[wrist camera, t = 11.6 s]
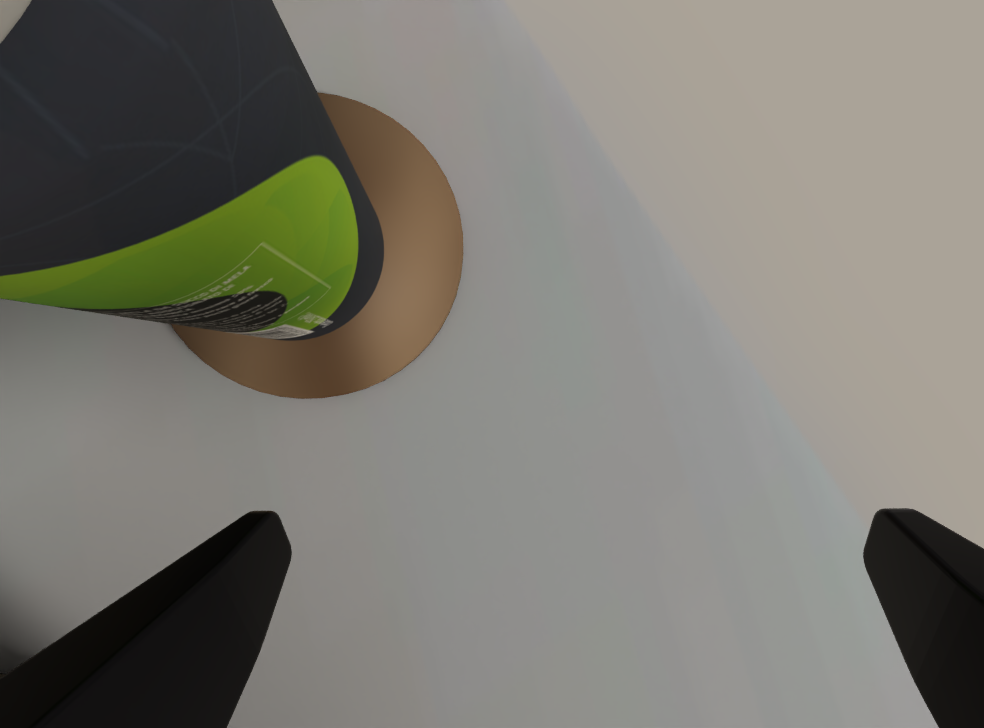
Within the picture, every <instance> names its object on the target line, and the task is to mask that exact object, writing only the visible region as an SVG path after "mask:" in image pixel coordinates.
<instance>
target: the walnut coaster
mask: <svg viewBox="0 0 984 728" xmlns="http://www.w3.org/2000/svg"><path fill="white" fill-rule="evenodd" d="M318 95H319V97H320V99H321V101H322V103H323V106H324V108H325V110H326V112H327V114H328V116H329V118H330V120H331V122H332V124H333V126H334V128H335V130H336V132H337V134H338V136H339V138H340V140H341V142H342V144H343V146H344V148H345V150H346V152H347V155H348V157H349V159H350V161H351V163H352V165H353V167H354V169H355V171H356V173H357V175H358V177H359V179H360V181H361V183H362V185H363V187H364V189H365V191H366V193H367V195H368V197H369V199H370V201H371V204H372V206H373V208H374V210H375V212H376V214H377V216H378V219H379V222H380V225H381V229H382V234H383V240H384V261H383V268H382V272H381V276H380V279H379V282H378V284H377V286H376V289H375V291H374V293H373V294H372V296H371V298H370V299H369V301H368V302H367V304H366V305H365V306H364V307H363V309H362V310H361V311H360V312H359V313H358V314H357V315H356V316H355V317H354V318H352V319H351V320H350V321H349V322H347V323H346V324H345V325H343V326H341V327H340V328H338V329H336V330H334V331H332V332H330V333H328V334H325V335H323V336H319V337H316V338H312V339H306V340H297V341H284V340H275V339H268V338H262V337H255V336H248V335H242V334H235V333H228V332H222V331H215V330H208V329H202V328H195V327H188V326H181V325H175V324H171V325H172V327H173V329H174V330H175V332H176V333H177V334H178V335H179V337H180V338H181V339H182V340H183V341H184V343H185V344H186V345H187V346H188V347H189V349H190V350H192V351H193V352H194V353H195V354H196V355H197V356H198V357H199V358H200V359H201V360H202V361H204V362H205V363H206V364H207V365H209V366H210V367H212V368H213V369H215V370H216V371H217V372H219V373H220V374H222V375H223V376H225V377H227V378H229V379H231V380H233V381H235V382H237V383H239V384H241V385H243V386H246V387H249V388H251V389H254V390H257V391H259V392H263V393H268V394H272V395H276V396H281V397H291V398H301V399H304V398H325V397H332V396H338V395H344V394H349V393H352V392H356V391H359V390H362V389H366V388H368V387H370V386H373V385H375V384H377V383H380V382H382V381H384V380H386V379H387V378H389V377H391V376H392V375H394V374H396V373H397V372H399V371H401V370H402V369H403V368H404V367H406V366H407V365H408V364H409V363H411V362H412V361H413V360H414V359H416V358H417V357H418V356H419V355H420V354H421V353H422V351H423V350H424V349H425V348H426V347H427V346H428V345H429V344H430V343H431V341H432V340H433V339H434V337H435V336H436V335H437V333H438V332H439V330H440V329H441V327H442V325H443V324H444V322H445V320H446V318H447V316H448V315H449V313H450V310H451V308H452V305H453V302H454V300H455V297H456V294H457V290H458V286H459V282H460V278H461V270H462V261H463V232H462V226H461V219H460V214H459V210H458V207H457V204H456V200H455V197H454V194H453V192H452V190H451V187H450V185H449V183H448V181H447V178H446V176H445V175H444V173H443V172H442V170H441V168H440V167H439V165H438V163H437V162H436V160H435V159H434V158H433V156H432V155H431V154H430V153H429V151H428V150H427V149H426V148H425V146H424V145H423V144H422V143H421V142H420V141H419V140H418V139H417V138H416V137H415V136H414V135H413V134H412V133H411V132H410V131H408V130H407V129H406V128H404V127H403V126H402V125H400V124H399V123H398V122H396V121H395V120H394V119H392V118H391V117H389V116H387V115H385V114H384V113H382V112H380V111H378V110H377V109H375V108H372V107H370V106H368V105H365V104H363V103H360V102H358V101H355V100H352V99H348V98H344V97H341V96H337V95H331V94H324V93H318Z"/></svg>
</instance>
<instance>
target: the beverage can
mask: <svg viewBox="0 0 984 728" xmlns="http://www.w3.org/2000/svg"><path fill="white" fill-rule="evenodd" d="M383 261H384V240H383V234H382V229H381V225H380V222H379V219H378V216H377V214H376V212H375V210H374V208H373V206H372V204H371V201H370V199H369V197H368V195H367V193H366V191H365V189H364V187H363V185H362V183H361V181H360V179H359V177H358V175H357V173H356V171H355V169H354V167H353V165H352V163H351V161H350V159H349V157H348V155H347V152H346V150H345V148H344V146H343V144H342V142H341V140H340V138H339V136H338V134H337V132H336V130H335V128H334V126H333V124H332V122H331V120H330V118H329V116H328V114H327V112H326V110H325V108H324V106H323V103H322V101H321V99H320V97H319V95H318V93H317V91H316V89H315V87H314V85H313V83H312V81H311V79H310V77H309V75H308V73H307V71H306V69H305V67H304V65H303V63H302V61H301V59H300V57H299V54H298V52H297V50H296V48H295V46H294V44H293V42H292V40H291V38H290V36H289V34H288V32H287V30H286V28H285V26H284V24H283V22H282V20H281V18H280V16H279V14H278V12H277V10H276V8H275V6H274V3H273V1H272V0H0V298H1V299H8V300H14V301H21V302H28V303H34V304H41V305H48V306H55V307H61V308H68V309H75V310H81V311H88V312H95V313H101V314H108V315H115V316H121V317H128V318H135V319H141V320H148V321H155V322H161V323H168V324H175V325H181V326H188V327H195V328H202V329H208V330H215V331H222V332H228V333H235V334H242V335H248V336H255V337H262V338H268V339H275V340H284V341H297V340H306V339H312V338H316V337H319V336H323V335H325V334H328V333H330V332H332V331H334V330H336V329H338V328H340V327H341V326H343V325H345V324H346V323H347V322H349V321H350V320H351V319H352V318H354V317H355V316H356V315H357V314H358V313H359V312H360V311H361V310H362V309H363V307H364V306H365V305H366V304H367V302H368V301H369V299H370V298H371V296H372V294H373V293H374V291H375V289H376V286H377V284H378V282H379V279H380V276H381V272H382V268H383Z"/></svg>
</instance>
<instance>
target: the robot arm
mask: <svg viewBox="0 0 984 728" xmlns="http://www.w3.org/2000/svg"><path fill="white" fill-rule="evenodd" d="M291 555H292V551H291V545H290V542H289V540H288V537H287V535H286V532H285V530H284V527H283V525H282V522H281V520H280V517H279V515H278V514H277V513H275V512H273V511H251V512H248V513H247V514H245V515H244V516H242V517H241V518H239V519H238V520H236V521H235V522H233V523H232V524H230V525H229V526H227V527H226V528H224V529H223V530H221V531H220V532H218V533H217V534H215V535H214V536H212V537H211V538H209V539H208V540H206V541H205V542H203V543H202V544H200V545H199V546H197V547H196V548H194V549H193V550H191V551H190V552H188V553H187V554H185V555H184V556H182V557H181V558H179V559H178V560H176V561H175V562H173V563H172V564H170V565H169V566H167V567H166V568H164V569H163V570H161V571H160V572H158V573H157V574H156V575H154V576H153V577H151V578H150V579H148V580H147V581H145V582H144V583H142V584H141V585H139V586H138V587H136V588H135V589H133V590H132V591H130V592H129V593H127V594H126V595H124V596H123V597H121V598H120V599H118V600H117V601H115V602H114V603H112V604H111V605H109V606H108V607H106V608H105V609H103V610H102V611H100V612H99V613H97V614H96V615H94V616H93V617H91V618H90V619H88V620H87V621H85V622H84V623H82V624H81V625H79V626H78V627H76V628H75V629H73V630H72V631H70V632H69V633H67V634H66V635H64V636H63V637H61V638H60V639H58V640H57V641H55V642H54V643H52V644H51V645H49V646H48V647H46V648H45V649H43V650H42V651H40V652H39V653H38V654H36V655H35V656H33V657H32V658H30V659H29V660H27V661H26V662H24V663H23V664H21V665H20V666H18V667H17V668H15V669H14V670H12V671H11V672H9V673H8V674H6V675H5V676H3V677H2V678H0V728H227V726H228V724H229V721H230V719H231V717H232V715H233V712H234V710H235V708H236V706H237V703H238V701H239V699H240V696H241V694H242V692H243V690H244V687H245V685H246V683H247V681H248V678H249V676H250V674H251V672H252V669H253V667H254V665H255V662H256V660H257V657H258V655H259V652H260V650H261V647H262V644H263V642H264V639H265V636H266V633H267V630H268V627H269V624H270V621H271V618H272V615H273V612H274V609H275V606H276V603H277V600H278V597H279V594H280V591H281V588H282V585H283V582H284V579H285V576H286V573H287V570H288V567H289V564H290V561H291ZM863 558H864V564H865V567H866V570H867V573H868V575H869V577H870V580H871V582H872V584H873V587H874V589H875V591H876V594H877V596H878V598H879V601H880V603H881V606H882V608H883V610H884V613H885V615H886V617H887V620H888V622H889V624H890V627H891V629H892V632H893V634H894V636H895V639H896V641H897V643H898V646H899V648H900V650H901V653H902V655H903V658H904V660H905V662H906V664H907V667H908V669H909V671H910V673H911V675H912V678H913V680H914V682H915V684H916V686H917V688H918V690H919V691H920V693H921V695H922V697H923V699H924V701H925V703H926V705H927V707H928V709H929V710H930V712H931V714H932V716H933V718H934V720H935V721H936V723H937V725H938V727H939V728H984V549H983V548H981V547H980V546H978V545H976V544H974V543H973V542H971V541H969V540H967V539H966V538H964V537H962V536H961V535H959V534H957V533H955V532H954V531H952V530H950V529H948V528H947V527H945V526H943V525H941V524H940V523H938V522H936V521H934V520H933V519H931V518H929V517H927V516H925V515H924V514H922V513H920V512H918V511H916V510H913V509H907V508H902V509H880V510H879V511H877V512H876V513H875V515H874V518H873V521H872V524H871V527H870V531H869V534H868V537H867V541H866V544H865V547H864V552H863Z"/></svg>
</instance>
